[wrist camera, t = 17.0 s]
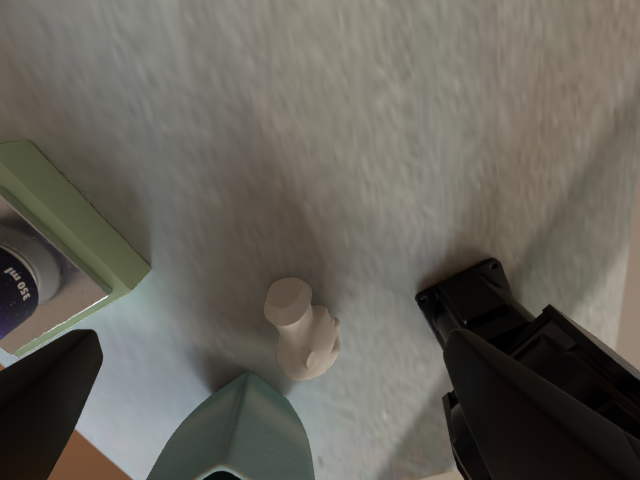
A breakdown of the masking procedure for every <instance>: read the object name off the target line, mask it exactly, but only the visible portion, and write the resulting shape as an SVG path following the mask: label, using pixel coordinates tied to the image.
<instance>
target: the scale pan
mask: <svg viewBox="0 0 640 480" xmlns="http://www.w3.org/2000/svg"><path fill="white" fill-rule="evenodd" d="M0 245H2V246H4V247H6V248H8V249H10V250H12V251H14V252H15V253H16V254H18V255H19V256H20V257H22V258H23V259H24V260H25V261H26V262H27V263H28V265H29V266H30V267H31V269H32V270H33V272H34V274H35V277H36V281H37V288H38V294H39V301H38V305H37V308H36V310H35V312H34V313H33V314H32V315H31V316H30V317H29V318H28V319H27V320H25V321H24V322H23V323H22V324H20V325H19V326H18V327H17V328H15V329H14V330H13V331H11V332H10V333H9V334H8V335H6V336H5V337H4V338H3V339H1V340H0V347H1V348H3V349H4V350H5V351H7V352H8V353H10V354H12V353H14V352H16V351H17V350H19V349H21V348H22V347H24V346H26V345H27V344H29V343H31V342H32V341H34V340H36V339H37V338H39V337H41V336H42V335H44V334H46V333H47V332H49V331H51V330H53V329H54V328H56V327H58V326H59V325H61V324H63V323H64V322H66V321H68V320H69V319H71V318H73V317H74V316H76V315H78V314H79V313H81V312H83V311H84V310H86V309H88V308H89V307H91V306H93V305H94V304H96V303H98V302H100V301H101V300H103V299H105V298H106V297H108V296H109V295H110V294H111V293H112V292H113V289H112V288H111V287H110V286H108V285H107V284H106V283H105V282H104V281H103V280H102V279H101V278H100V277H99V276H98V275H97V274H96V273H95V272H94V271H93V270H91V269H90V268H89V267H88V266H87V265H86V264H85V263H84V262H83V261H82V260H81V259H80V258H79V257H78V256H77V255H76V254H74V253H73V252H72V251H71V250H70V249H69V248H68V247H67V246H66V245H65V244H64V243H63V242H62V241H61V240H60V239H59V238H57V237H56V236H55V235H54V234H53V233H52V232H51V231H50V230H49V229H48V228H47V227H46V226H45V225H44V224H43V223H42V222H40V221H39V220H38V219H37V218H36V217H35V216H34V215H33V214H32V213H31V212H30V211H29V210H28V209H27V208H26V207H25V206H23V205H22V204H21V203H20V202H19V201H18V200H17V199H16V198H15V197H14V196H13V195H12V194H11V193H10V192H9V191H8V190H7V189H5V188H4V187H3V186H0Z"/></svg>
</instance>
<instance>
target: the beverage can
mask: <svg viewBox="0 0 640 480" xmlns="http://www.w3.org/2000/svg"><path fill="white" fill-rule="evenodd" d="M38 301H39V294H38V288H37V281H36V277H35V274H34V272H33V270H32V269H31V267H30V266H29V265H28V263H27V262H26V261H25V260H24V259H23V258H22V257H20V256H19V255H18V254H16V253H15V252H14V251H12V250H10V249H8V248H6V247H4V246H2V245H0V340H1V339H3V338H4V337H5V336H6V335H8V334H9V333H10V332H11V331H13V330H14V329H15V328H17V327H18V326H19V325H20V324H22V323H23V322H24V321H25V320H27V319H28V318H29V317H30V316H31V315H32V314H33V313H34V312H35V310H36V308H37V305H38Z"/></svg>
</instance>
